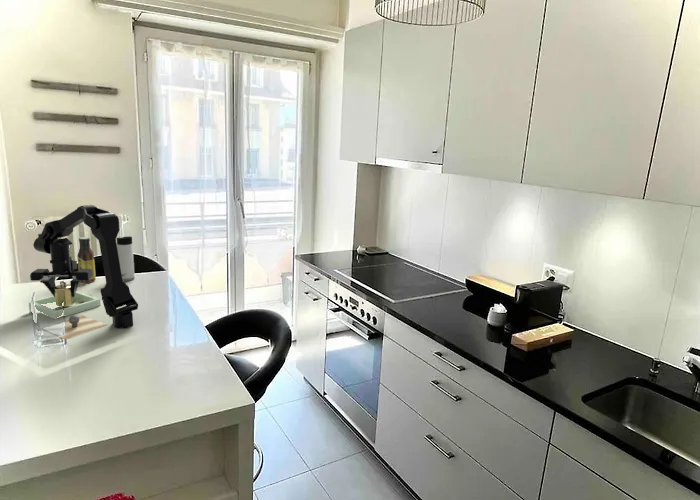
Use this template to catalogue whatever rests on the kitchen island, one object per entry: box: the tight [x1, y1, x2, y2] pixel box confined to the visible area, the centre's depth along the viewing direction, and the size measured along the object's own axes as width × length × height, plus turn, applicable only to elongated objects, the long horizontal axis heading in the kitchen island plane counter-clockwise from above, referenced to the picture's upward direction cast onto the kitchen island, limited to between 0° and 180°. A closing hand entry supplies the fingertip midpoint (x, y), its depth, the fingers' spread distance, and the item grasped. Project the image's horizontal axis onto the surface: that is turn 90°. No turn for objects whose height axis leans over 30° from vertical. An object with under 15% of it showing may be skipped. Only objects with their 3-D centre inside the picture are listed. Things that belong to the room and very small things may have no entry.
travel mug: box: [116, 235, 136, 282], centre depth 202 cm, size 6×7×20 cm
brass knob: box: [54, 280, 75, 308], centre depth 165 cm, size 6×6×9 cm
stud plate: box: [57, 314, 108, 341], centre depth 151 cm, size 14×14×6 cm
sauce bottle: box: [77, 236, 97, 284], centre depth 196 cm, size 6×6×20 cm
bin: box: [27, 290, 101, 319], centre depth 166 cm, size 16×16×4 cm
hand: (64, 296), depth 165 cm, fingers open, 6 cm apart
